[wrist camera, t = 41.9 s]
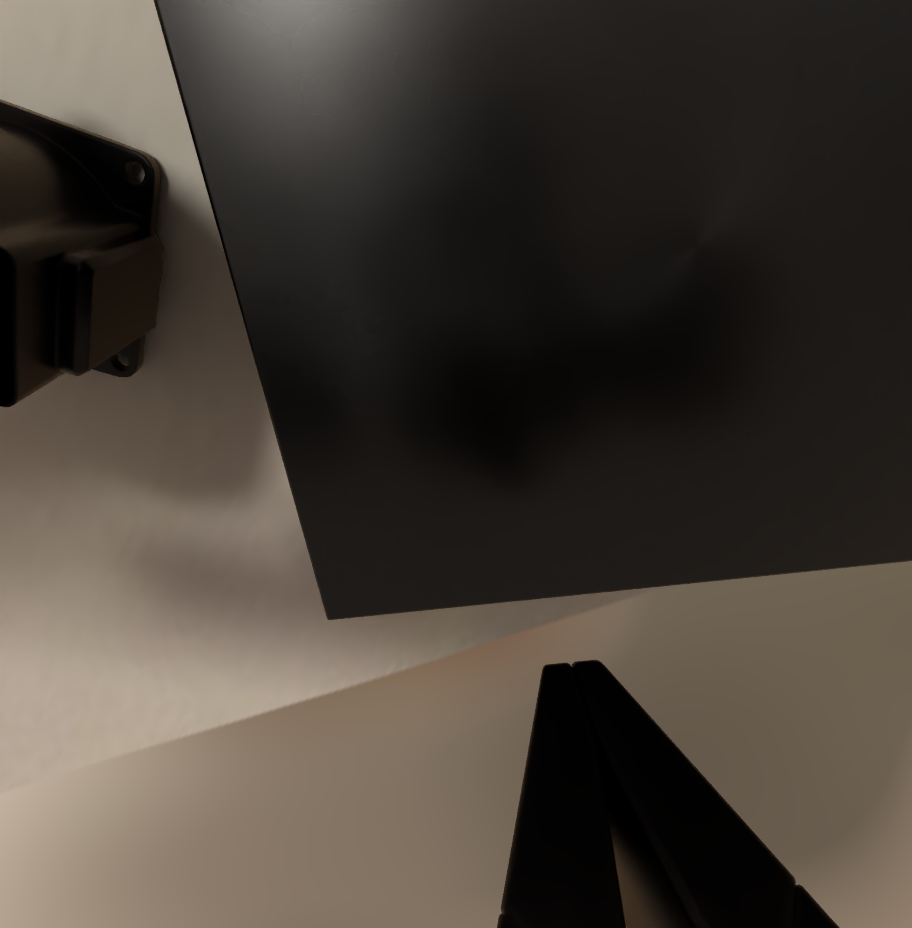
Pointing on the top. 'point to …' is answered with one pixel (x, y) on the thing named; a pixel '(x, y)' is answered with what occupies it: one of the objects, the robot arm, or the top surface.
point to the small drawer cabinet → (568, 283)
